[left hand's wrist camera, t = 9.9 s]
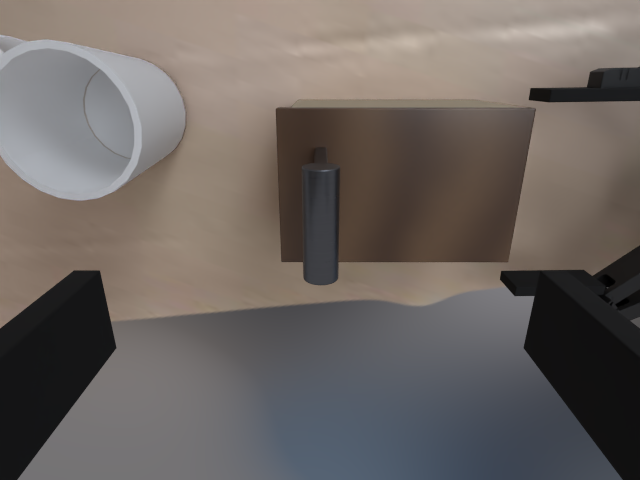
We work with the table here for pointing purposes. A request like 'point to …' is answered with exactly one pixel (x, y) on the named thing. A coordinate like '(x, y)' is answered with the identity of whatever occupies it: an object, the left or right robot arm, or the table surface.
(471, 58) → the table surface
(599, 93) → the right robot arm
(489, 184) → the lid
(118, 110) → the mug
